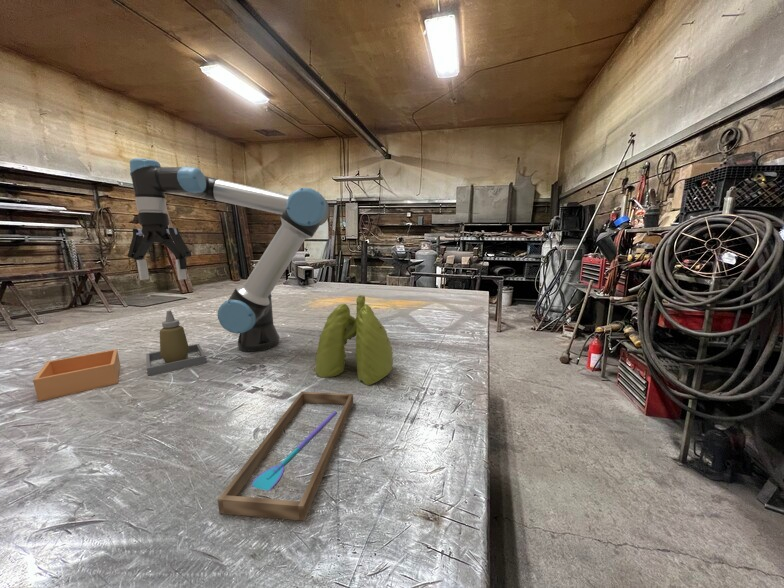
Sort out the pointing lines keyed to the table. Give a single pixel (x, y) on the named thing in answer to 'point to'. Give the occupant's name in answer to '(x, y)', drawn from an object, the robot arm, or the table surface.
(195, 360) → the tray
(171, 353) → the squeeze bottle
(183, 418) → the table surface
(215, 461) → the table surface
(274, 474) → the paddle
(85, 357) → the wooden bin
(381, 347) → the lungs
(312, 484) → the brown wooden frame
